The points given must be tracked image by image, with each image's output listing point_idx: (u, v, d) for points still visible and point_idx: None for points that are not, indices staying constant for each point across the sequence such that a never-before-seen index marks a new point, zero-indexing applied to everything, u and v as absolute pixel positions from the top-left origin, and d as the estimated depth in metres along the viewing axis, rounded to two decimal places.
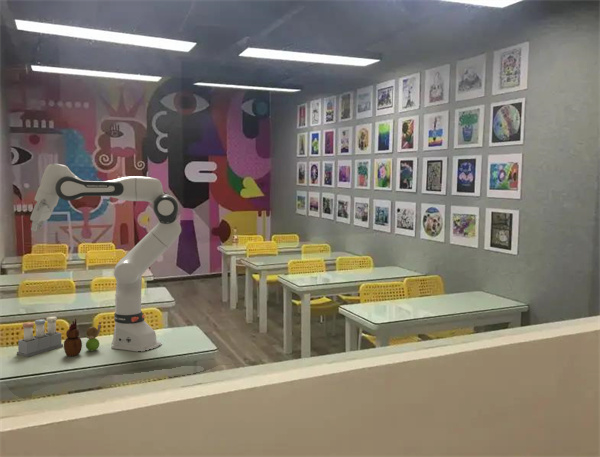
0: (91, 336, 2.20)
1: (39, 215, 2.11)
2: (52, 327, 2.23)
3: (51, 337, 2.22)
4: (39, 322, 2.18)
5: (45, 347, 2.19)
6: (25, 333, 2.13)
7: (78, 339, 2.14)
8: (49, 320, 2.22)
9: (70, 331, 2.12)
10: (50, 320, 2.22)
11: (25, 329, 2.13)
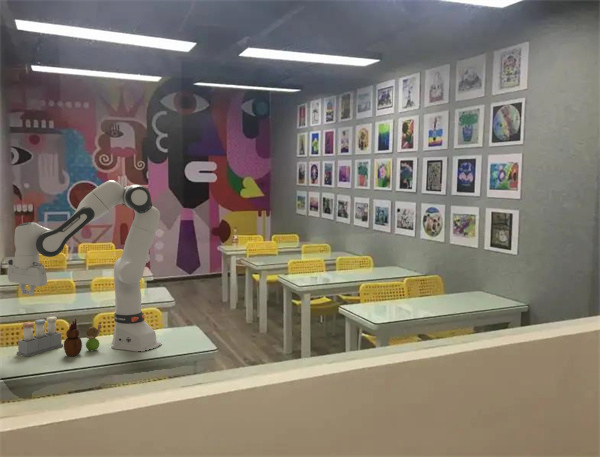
0: (91, 336, 2.20)
1: (46, 278, 2.10)
2: (52, 327, 2.23)
3: (51, 337, 2.22)
4: (39, 322, 2.18)
5: (45, 347, 2.19)
6: (25, 333, 2.13)
7: (78, 339, 2.14)
8: (49, 320, 2.22)
9: (70, 331, 2.12)
10: (50, 320, 2.22)
11: (25, 329, 2.13)
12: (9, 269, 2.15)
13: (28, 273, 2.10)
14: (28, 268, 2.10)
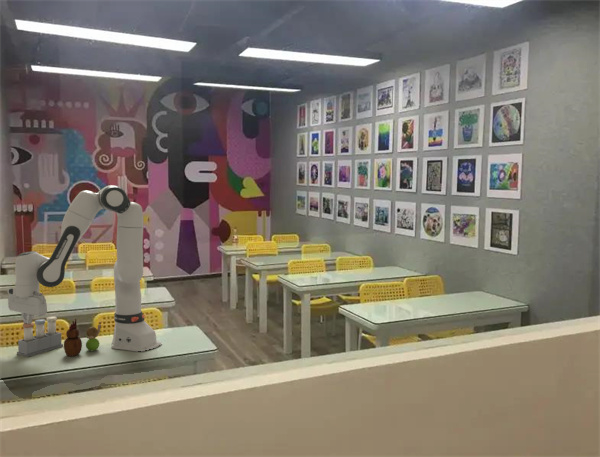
0: (91, 336, 2.20)
1: (46, 308, 2.11)
2: (52, 327, 2.23)
3: (51, 337, 2.22)
4: (39, 322, 2.18)
5: (45, 347, 2.19)
6: (25, 333, 2.13)
7: (78, 339, 2.14)
8: (49, 320, 2.22)
9: (70, 331, 2.12)
10: (50, 320, 2.22)
11: (25, 329, 2.13)
12: (9, 298, 2.15)
13: (28, 303, 2.11)
14: (28, 298, 2.11)
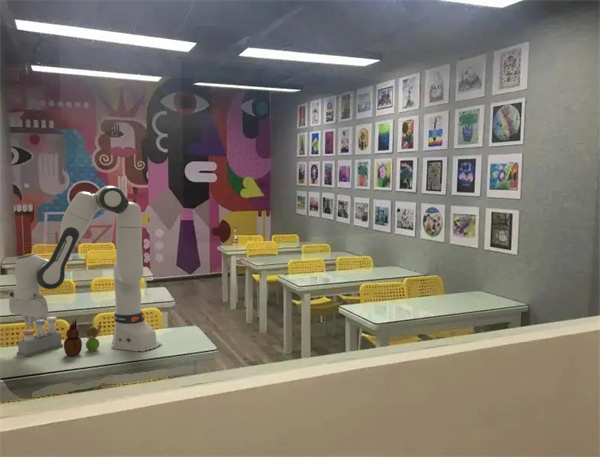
0: (91, 336, 2.20)
1: (47, 310, 2.11)
2: (52, 327, 2.23)
3: (51, 337, 2.22)
4: (39, 322, 2.18)
5: (45, 347, 2.19)
6: (25, 341, 2.14)
7: (78, 339, 2.14)
8: (49, 320, 2.22)
9: (70, 331, 2.12)
10: (50, 320, 2.22)
11: (25, 336, 2.13)
12: (10, 301, 2.16)
13: (30, 305, 2.11)
14: (29, 300, 2.11)
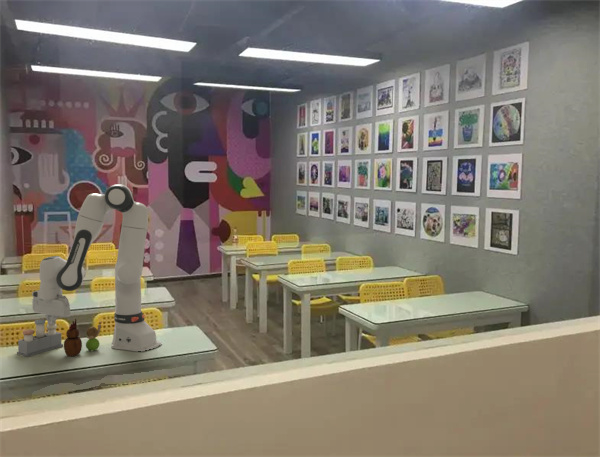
0: (91, 336, 2.20)
1: (69, 310, 2.21)
2: (52, 334, 2.24)
3: (51, 337, 2.22)
4: (39, 322, 2.18)
5: (45, 347, 2.19)
6: (25, 341, 2.14)
7: (78, 339, 2.14)
8: (49, 327, 2.23)
9: (70, 331, 2.12)
10: (50, 327, 2.23)
11: (25, 336, 2.13)
12: (34, 300, 2.25)
13: (52, 305, 2.21)
14: (52, 300, 2.21)
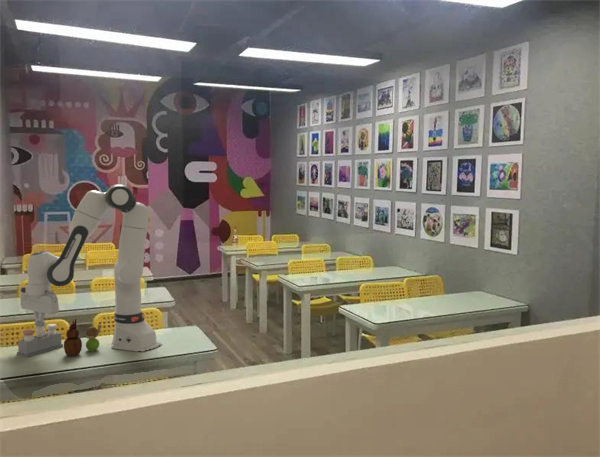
0: (91, 336, 2.20)
1: (58, 306, 2.16)
2: (52, 334, 2.24)
3: (51, 337, 2.22)
4: (39, 323, 2.18)
5: (45, 347, 2.19)
6: (25, 341, 2.14)
7: (78, 339, 2.14)
8: (49, 327, 2.23)
9: (70, 331, 2.12)
10: (50, 327, 2.23)
11: (25, 336, 2.13)
12: (22, 296, 2.20)
13: (41, 301, 2.16)
14: (40, 296, 2.16)
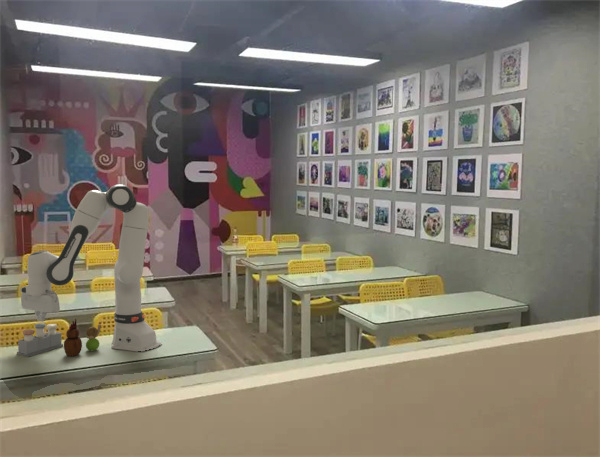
0: (91, 336, 2.20)
1: (58, 305, 2.16)
2: (52, 334, 2.24)
3: (51, 337, 2.22)
4: (39, 326, 2.18)
5: (45, 347, 2.19)
6: (25, 341, 2.14)
7: (78, 339, 2.14)
8: (49, 327, 2.23)
9: (70, 331, 2.12)
10: (50, 327, 2.23)
11: (25, 336, 2.13)
12: (22, 296, 2.21)
13: (41, 301, 2.16)
14: (41, 296, 2.16)
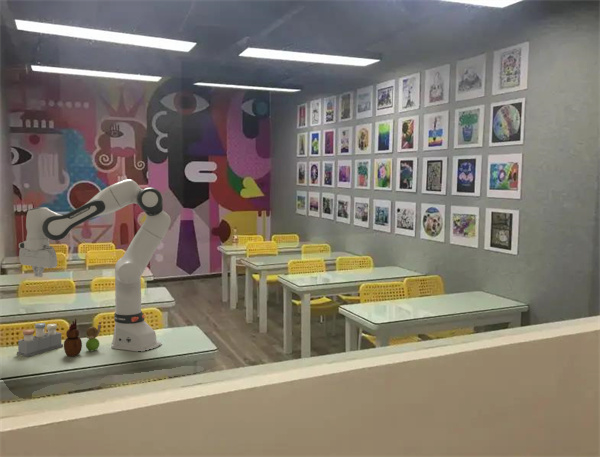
0: (91, 336, 2.20)
1: (56, 260, 2.18)
2: (52, 334, 2.24)
3: (51, 337, 2.22)
4: (39, 326, 2.18)
5: (45, 347, 2.19)
6: (25, 341, 2.14)
7: (78, 339, 2.14)
8: (49, 327, 2.23)
9: (70, 331, 2.12)
10: (50, 327, 2.23)
11: (25, 336, 2.13)
12: (20, 252, 2.23)
13: (39, 256, 2.19)
14: (39, 251, 2.18)
